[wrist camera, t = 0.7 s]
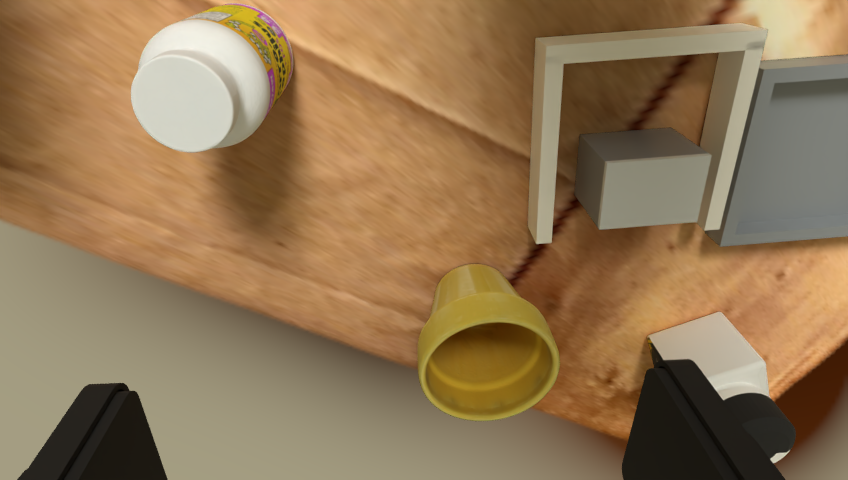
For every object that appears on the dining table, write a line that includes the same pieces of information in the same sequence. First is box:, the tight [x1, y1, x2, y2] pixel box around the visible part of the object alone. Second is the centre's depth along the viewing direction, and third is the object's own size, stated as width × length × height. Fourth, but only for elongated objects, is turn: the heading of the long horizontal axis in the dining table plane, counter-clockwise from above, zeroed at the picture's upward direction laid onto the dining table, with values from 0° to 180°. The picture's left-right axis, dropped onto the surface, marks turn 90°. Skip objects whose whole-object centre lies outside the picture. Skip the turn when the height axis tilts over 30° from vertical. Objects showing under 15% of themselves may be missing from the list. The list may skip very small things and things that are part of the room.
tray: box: [705, 54, 848, 247], centre depth 41 cm, size 14×14×2 cm
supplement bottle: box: [131, 3, 293, 152], centre depth 31 cm, size 7×7×13 cm
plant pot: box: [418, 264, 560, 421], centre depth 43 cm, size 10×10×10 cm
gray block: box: [574, 128, 712, 230], centre depth 39 cm, size 5×7×6 cm
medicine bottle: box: [647, 312, 796, 463], centre depth 47 cm, size 7×7×12 cm
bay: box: [528, 23, 768, 244], centre depth 39 cm, size 15×14×3 cm
